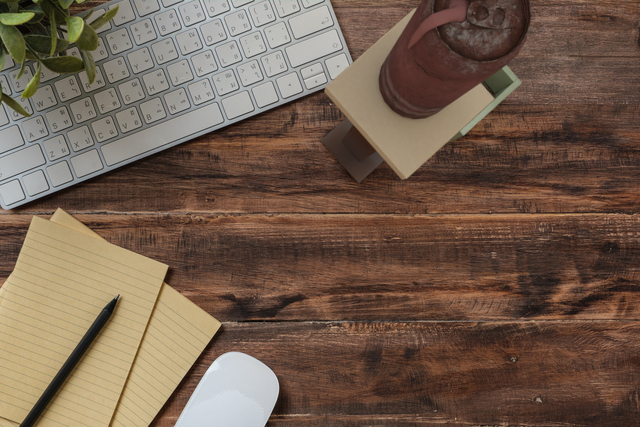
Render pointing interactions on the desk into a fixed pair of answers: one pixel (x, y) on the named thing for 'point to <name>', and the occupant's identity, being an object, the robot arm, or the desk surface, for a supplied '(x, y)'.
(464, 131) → the holder
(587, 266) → the desk surface
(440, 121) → the beige square panel
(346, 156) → the post
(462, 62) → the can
